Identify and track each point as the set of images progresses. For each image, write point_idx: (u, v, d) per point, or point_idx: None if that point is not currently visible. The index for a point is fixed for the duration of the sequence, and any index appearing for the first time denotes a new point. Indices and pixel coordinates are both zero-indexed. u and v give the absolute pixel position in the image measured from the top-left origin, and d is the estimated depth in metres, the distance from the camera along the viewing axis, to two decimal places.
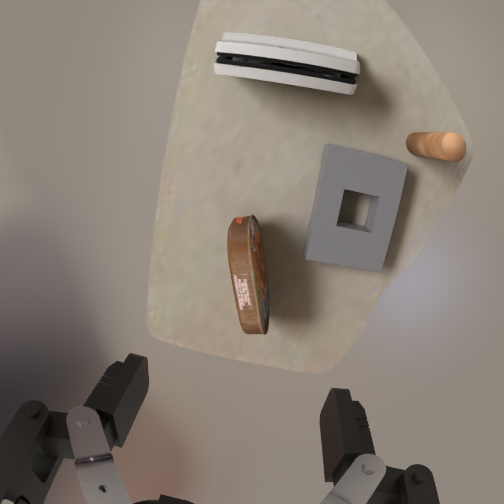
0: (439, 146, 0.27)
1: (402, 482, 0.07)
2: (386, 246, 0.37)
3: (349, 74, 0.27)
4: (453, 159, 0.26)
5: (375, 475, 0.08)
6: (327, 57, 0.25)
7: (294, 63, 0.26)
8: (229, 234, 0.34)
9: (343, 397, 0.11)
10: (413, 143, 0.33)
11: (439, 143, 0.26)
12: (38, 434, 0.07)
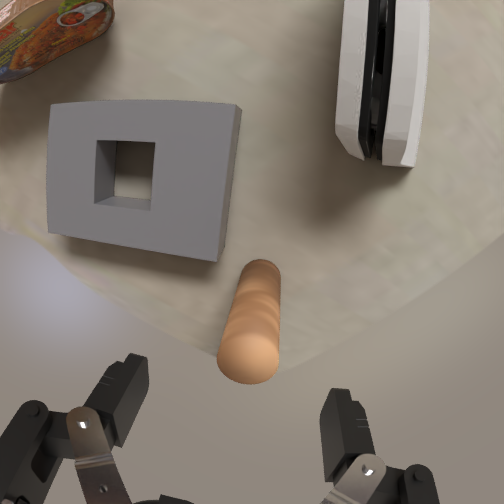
0: (244, 326, 0.15)
1: (402, 482, 0.07)
2: (80, 235, 0.21)
3: (380, 122, 0.13)
4: (220, 359, 0.15)
5: (375, 475, 0.08)
6: (413, 74, 0.11)
7: (391, 11, 0.10)
8: None
9: (343, 397, 0.11)
10: (257, 272, 0.21)
11: (250, 328, 0.15)
12: (38, 434, 0.07)
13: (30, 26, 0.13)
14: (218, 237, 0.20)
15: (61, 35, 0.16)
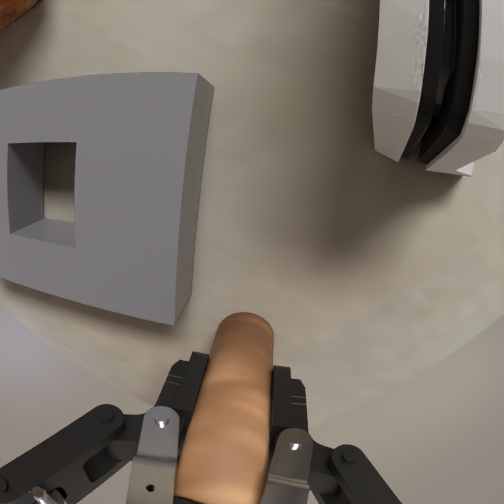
0: (209, 466, 0.07)
1: (333, 467, 0.08)
2: (1, 274, 0.13)
3: (460, 91, 0.05)
4: None
5: (300, 449, 0.09)
6: None
7: None
8: None
9: (282, 374, 0.12)
10: (237, 340, 0.14)
11: (217, 470, 0.07)
12: (104, 440, 0.08)
13: None
14: (174, 291, 0.12)
15: None
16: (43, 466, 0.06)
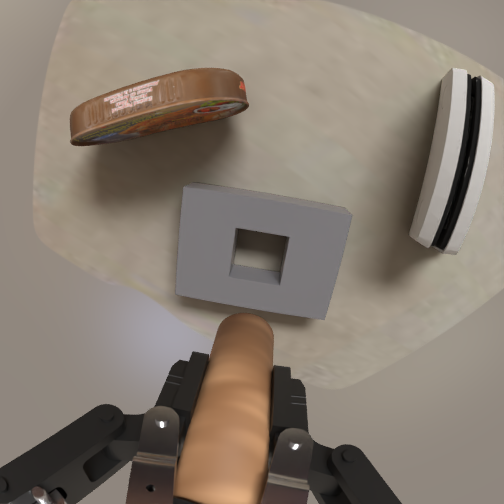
0: (209, 467, 0.07)
1: (333, 467, 0.08)
2: (211, 299, 0.29)
3: (445, 240, 0.21)
4: None
5: (300, 449, 0.09)
6: (472, 215, 0.19)
7: (469, 170, 0.18)
8: (223, 71, 0.19)
9: (282, 374, 0.12)
10: (237, 341, 0.14)
11: (217, 471, 0.07)
12: (103, 440, 0.08)
13: (168, 111, 0.20)
14: (328, 304, 0.28)
15: (186, 116, 0.24)
16: (43, 466, 0.06)
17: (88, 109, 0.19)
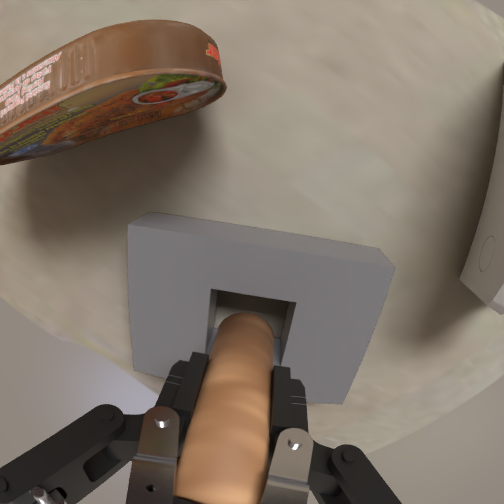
0: (208, 467, 0.07)
1: (333, 467, 0.08)
2: None
3: None
4: None
5: (300, 449, 0.09)
6: None
7: None
8: (173, 23, 0.09)
9: (282, 374, 0.12)
10: (237, 340, 0.14)
11: (217, 471, 0.07)
12: (103, 440, 0.08)
13: (86, 104, 0.11)
14: (349, 386, 0.18)
15: (129, 111, 0.14)
16: (43, 466, 0.06)
17: None
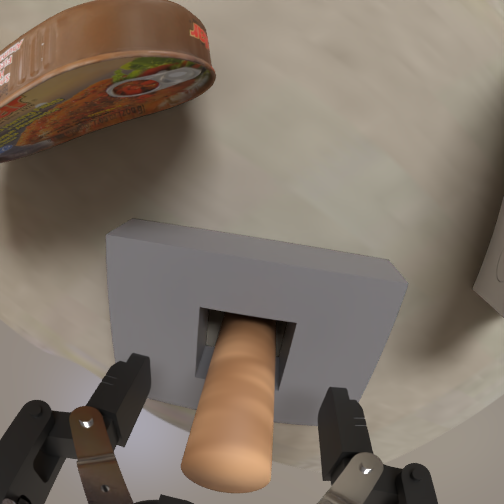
0: (220, 430, 0.09)
1: (399, 481, 0.07)
2: (172, 401, 0.17)
3: None
4: (186, 468, 0.09)
5: (372, 474, 0.08)
6: None
7: None
8: (151, 0, 0.07)
9: (341, 396, 0.11)
10: (243, 322, 0.15)
11: (227, 433, 0.09)
12: (41, 434, 0.07)
13: (54, 99, 0.09)
14: None
15: (107, 106, 0.12)
16: (1, 477, 0.05)
17: None
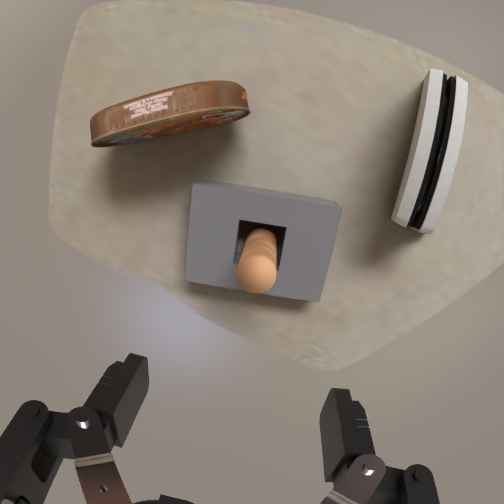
0: (254, 252, 0.24)
1: (402, 482, 0.07)
2: (217, 284, 0.32)
3: (420, 219, 0.24)
4: (238, 273, 0.24)
5: (375, 475, 0.08)
6: (444, 197, 0.22)
7: (441, 157, 0.21)
8: (228, 83, 0.22)
9: (343, 397, 0.11)
10: (260, 229, 0.30)
11: (257, 253, 0.24)
12: (38, 434, 0.07)
13: (180, 117, 0.24)
14: (322, 288, 0.31)
15: (195, 121, 0.27)
16: (0, 477, 0.05)
17: (109, 115, 0.22)
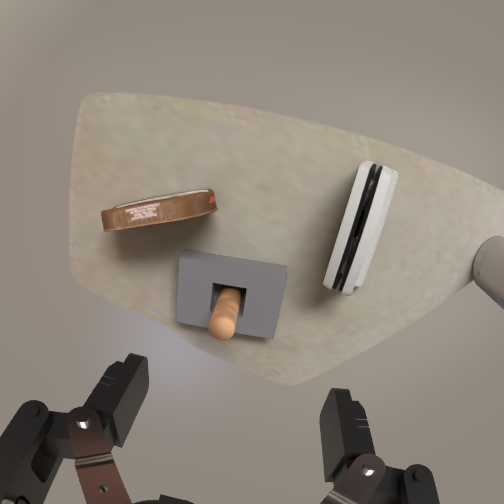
0: (220, 314, 0.36)
1: (402, 482, 0.07)
2: (199, 325, 0.44)
3: (341, 286, 0.35)
4: (210, 328, 0.35)
5: (375, 475, 0.08)
6: (358, 272, 0.33)
7: (356, 243, 0.32)
8: (198, 195, 0.34)
9: (343, 397, 0.11)
10: (228, 288, 0.42)
11: (222, 314, 0.35)
12: (39, 434, 0.07)
13: None
14: None
15: None
16: (0, 478, 0.05)
17: (115, 215, 0.34)
